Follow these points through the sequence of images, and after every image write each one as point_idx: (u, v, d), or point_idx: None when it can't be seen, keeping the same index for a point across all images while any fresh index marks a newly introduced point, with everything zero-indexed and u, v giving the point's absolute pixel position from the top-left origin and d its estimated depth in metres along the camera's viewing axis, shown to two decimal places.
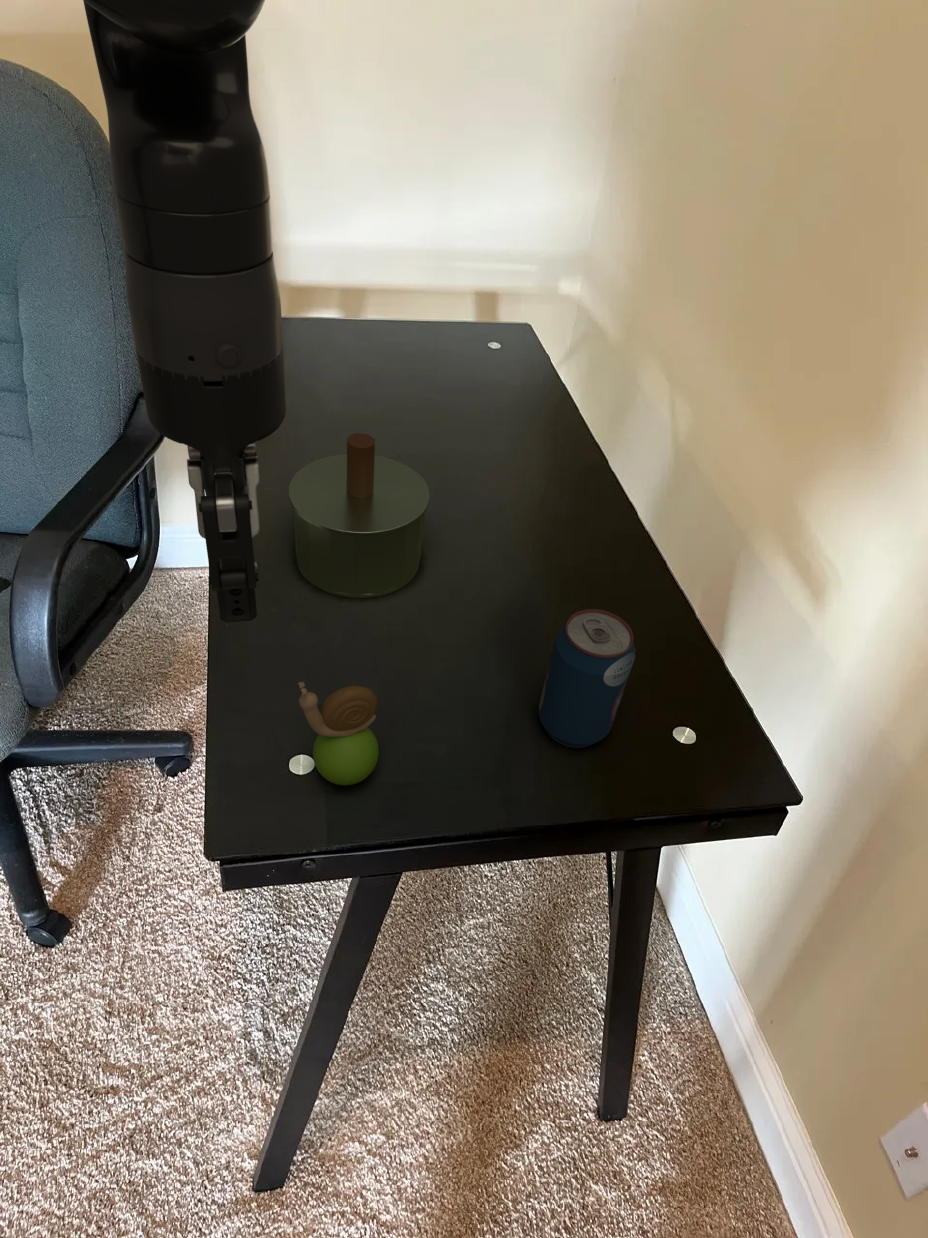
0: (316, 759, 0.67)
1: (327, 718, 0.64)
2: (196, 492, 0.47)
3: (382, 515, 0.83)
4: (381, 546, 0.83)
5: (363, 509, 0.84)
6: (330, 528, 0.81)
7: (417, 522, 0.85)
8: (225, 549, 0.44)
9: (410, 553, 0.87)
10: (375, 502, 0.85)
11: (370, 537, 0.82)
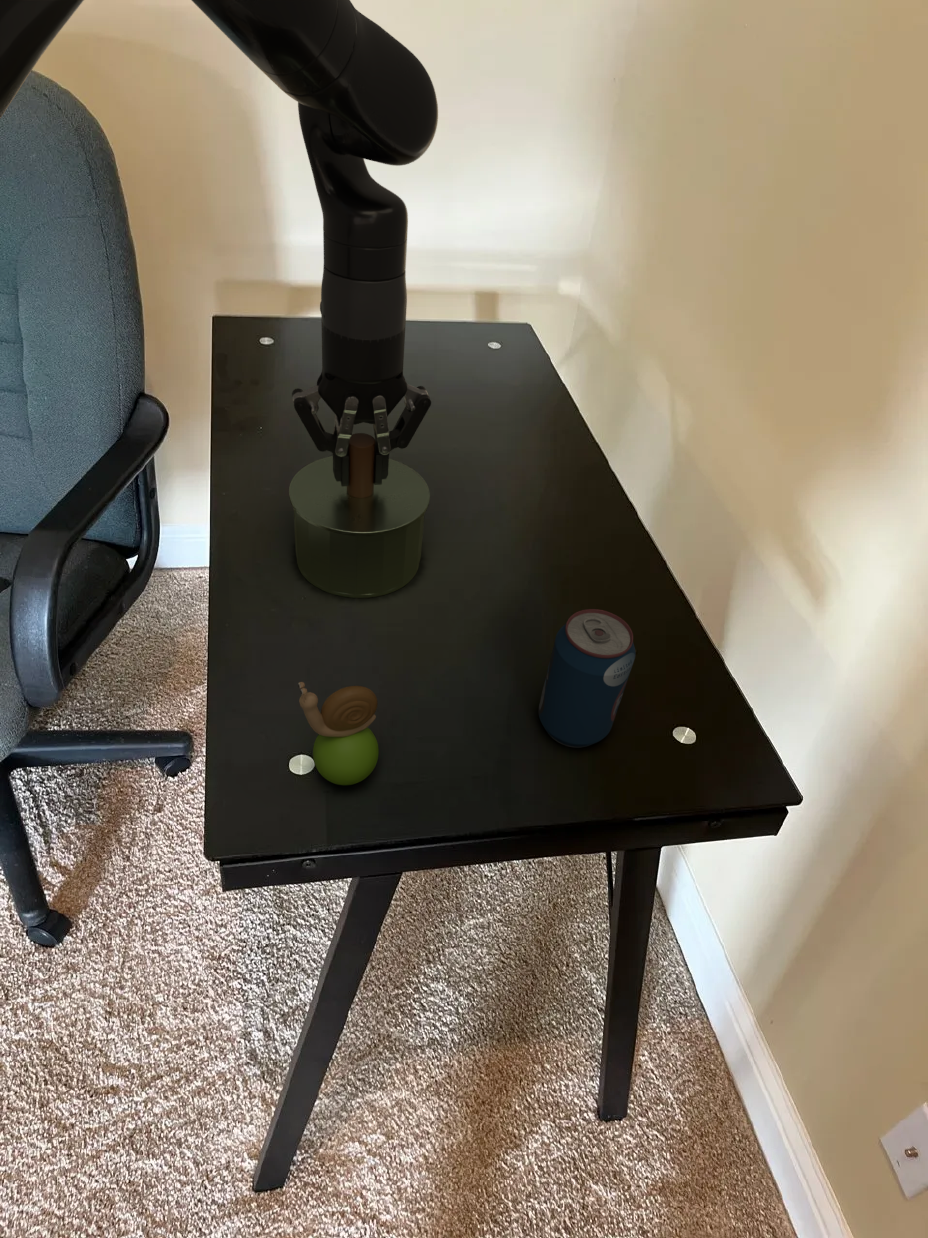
0: (316, 759, 0.67)
1: (327, 718, 0.64)
2: (386, 411, 0.79)
3: (382, 515, 0.83)
4: (381, 546, 0.83)
5: (363, 509, 0.84)
6: (330, 528, 0.81)
7: (417, 522, 0.85)
8: None
9: (410, 553, 0.87)
10: (375, 502, 0.85)
11: (370, 537, 0.82)
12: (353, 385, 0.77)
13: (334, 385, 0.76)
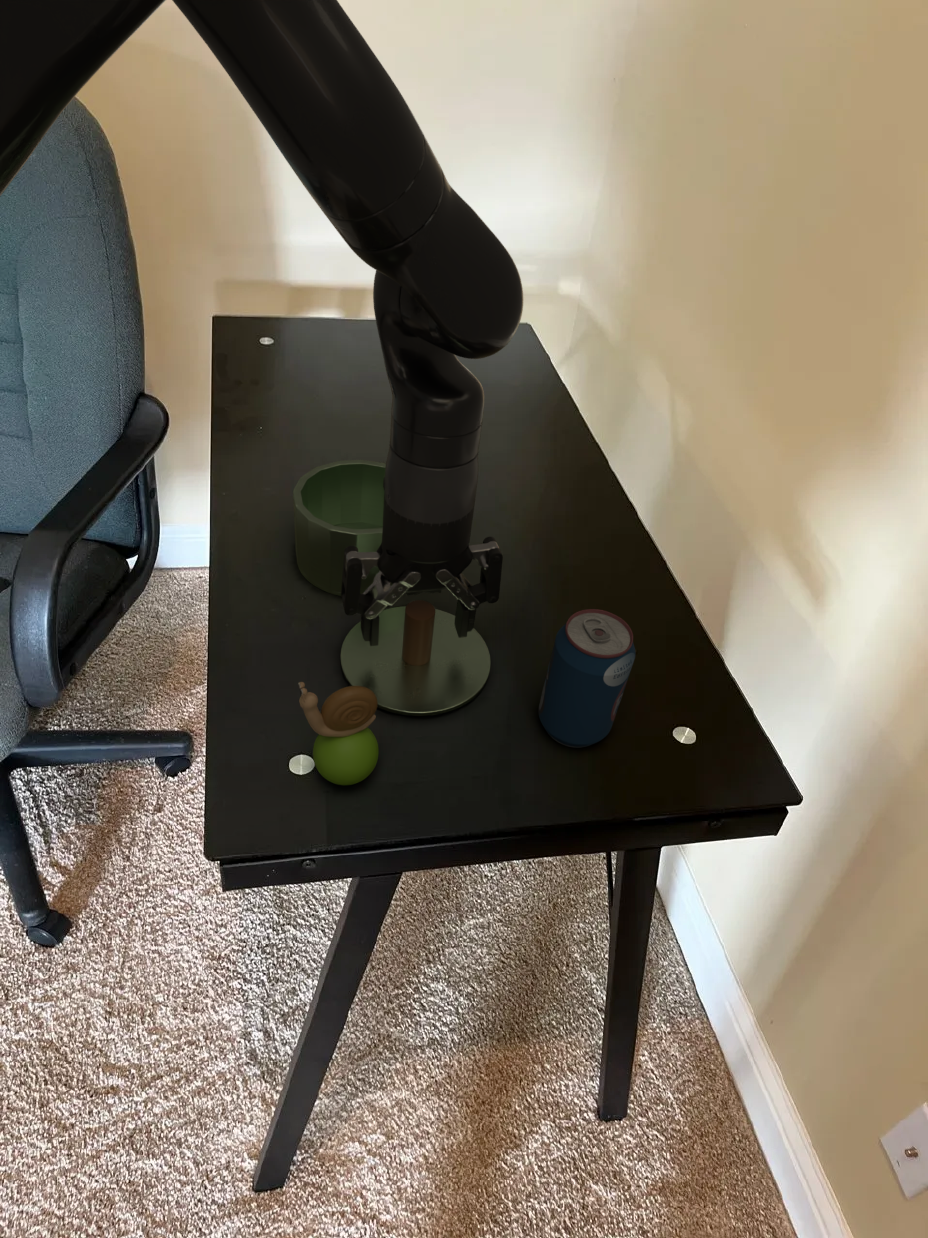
0: (316, 759, 0.67)
1: (327, 718, 0.64)
2: (455, 577, 0.73)
3: (442, 688, 0.77)
4: None
5: (421, 681, 0.78)
6: (388, 708, 0.75)
7: None
8: None
9: None
10: (433, 671, 0.79)
11: (370, 537, 0.82)
12: None
13: (398, 562, 0.70)
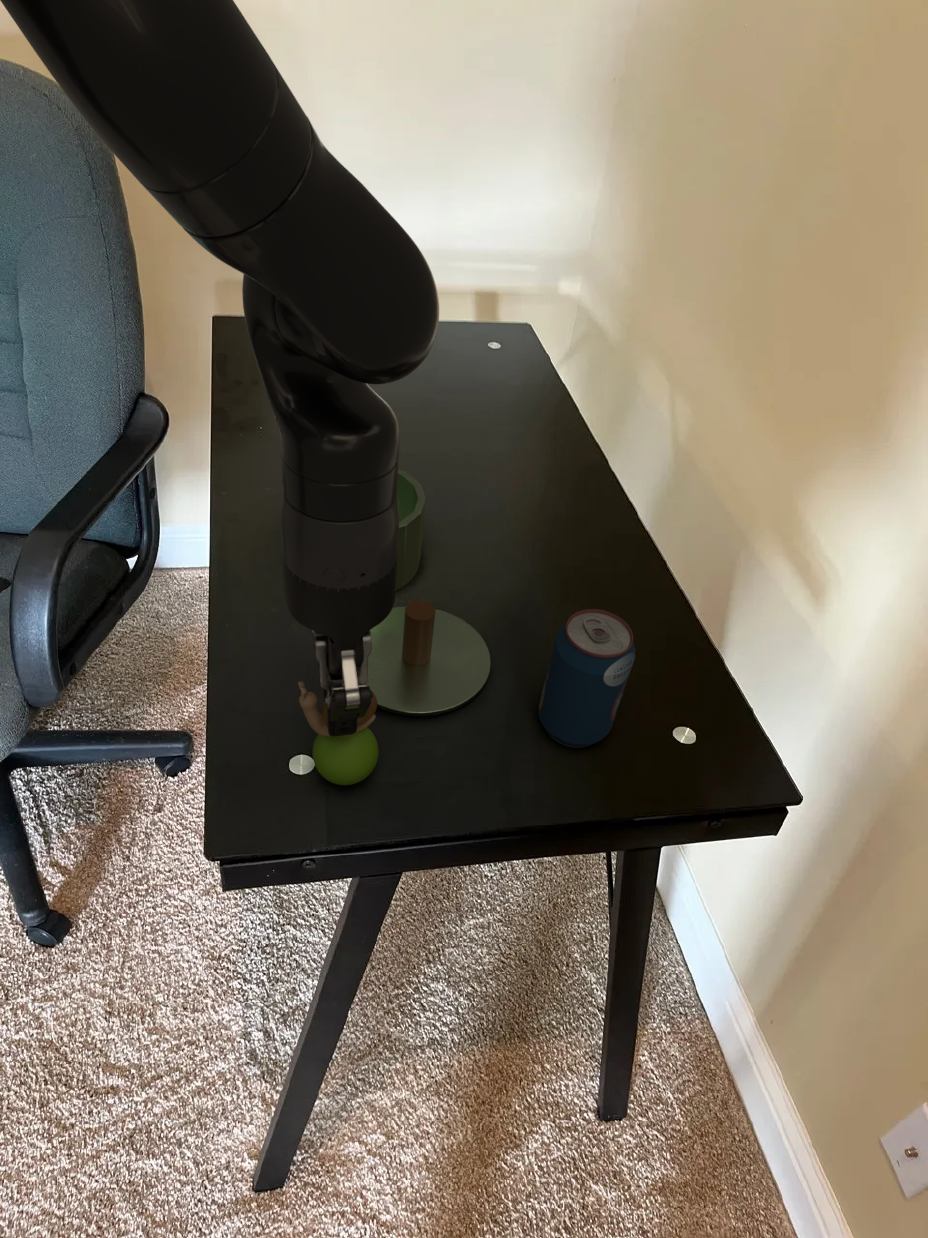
0: (315, 759, 0.67)
1: None
2: None
3: (442, 688, 0.77)
4: None
5: (421, 681, 0.78)
6: (388, 708, 0.75)
7: (417, 522, 0.85)
8: None
9: (410, 553, 0.87)
10: (433, 671, 0.79)
11: None
12: None
13: None
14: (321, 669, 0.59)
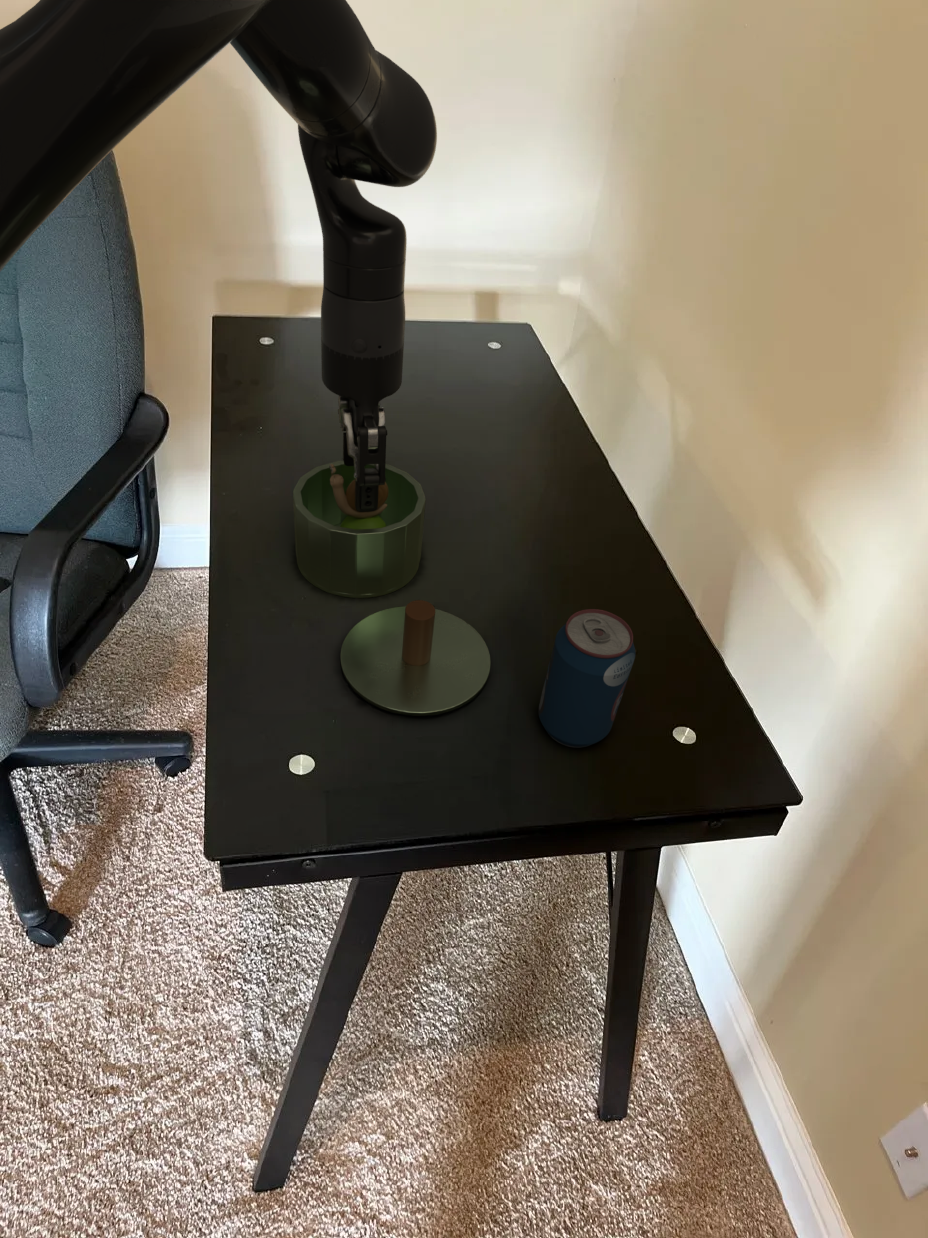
0: None
1: (350, 498, 0.86)
2: None
3: (442, 688, 0.77)
4: (381, 546, 0.83)
5: (421, 681, 0.78)
6: (388, 708, 0.75)
7: (417, 522, 0.85)
8: None
9: (410, 553, 0.87)
10: (433, 671, 0.79)
11: (370, 537, 0.82)
12: None
13: None
14: (349, 435, 0.78)
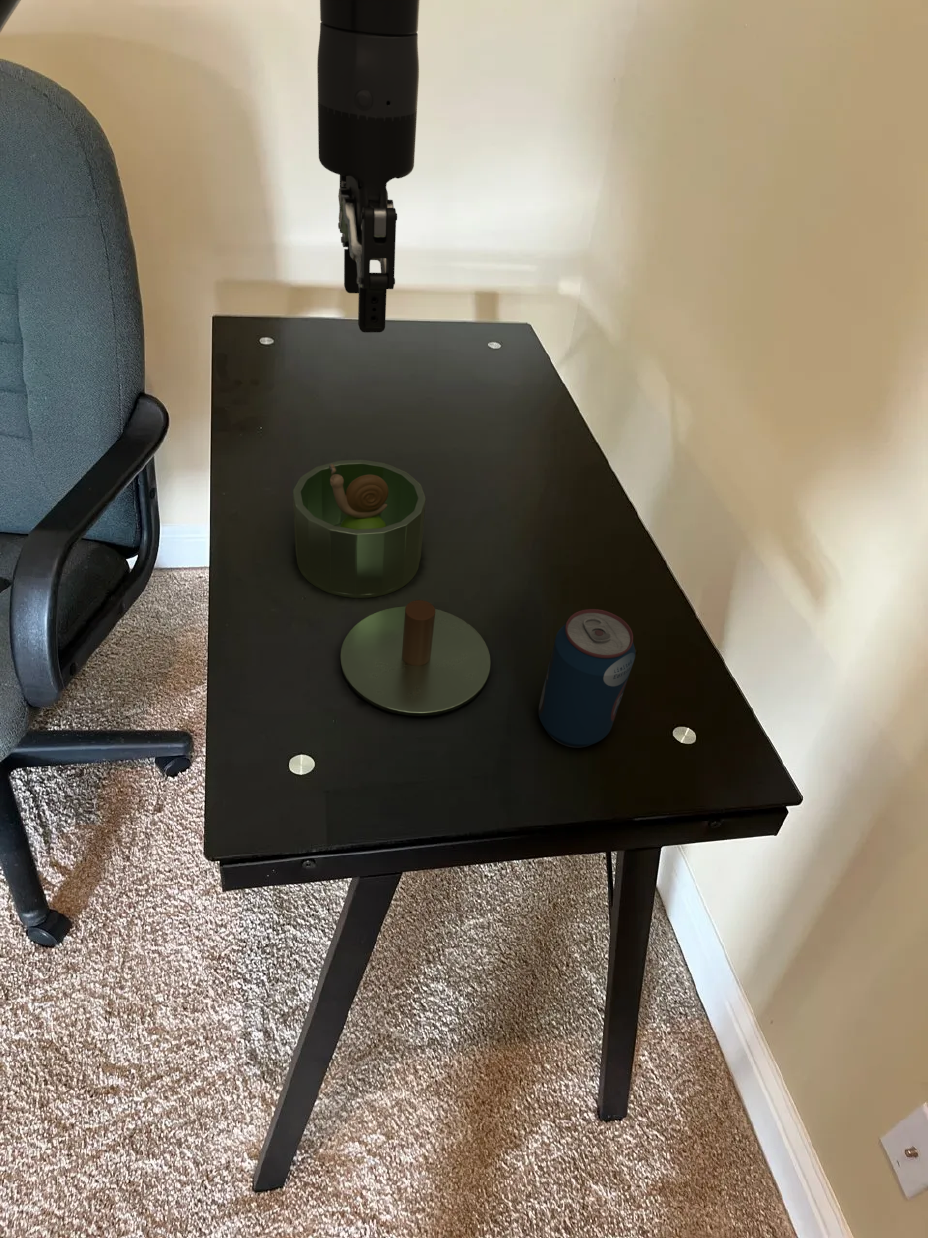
0: None
1: (350, 498, 0.86)
2: None
3: (442, 688, 0.77)
4: (381, 546, 0.83)
5: (421, 681, 0.78)
6: (388, 708, 0.75)
7: (417, 522, 0.85)
8: None
9: (410, 553, 0.87)
10: (433, 671, 0.79)
11: (370, 537, 0.82)
12: None
13: None
14: (351, 229, 0.66)
